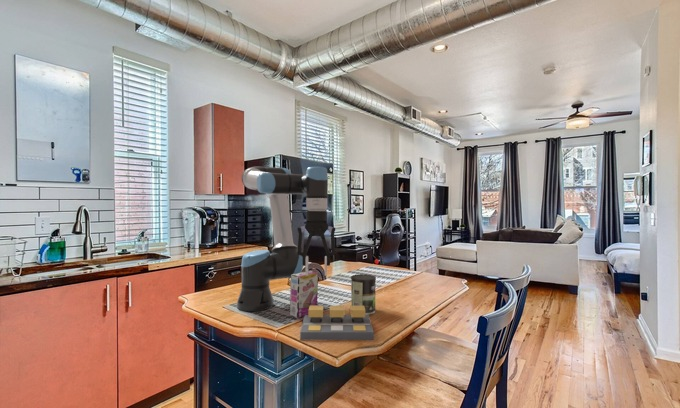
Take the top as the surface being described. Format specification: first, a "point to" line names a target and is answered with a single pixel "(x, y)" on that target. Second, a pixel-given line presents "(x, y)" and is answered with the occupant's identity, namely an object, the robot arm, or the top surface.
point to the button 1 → (315, 312)
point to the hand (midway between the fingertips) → (316, 274)
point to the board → (336, 329)
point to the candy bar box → (303, 293)
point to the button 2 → (336, 313)
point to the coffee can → (363, 292)
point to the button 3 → (357, 313)
